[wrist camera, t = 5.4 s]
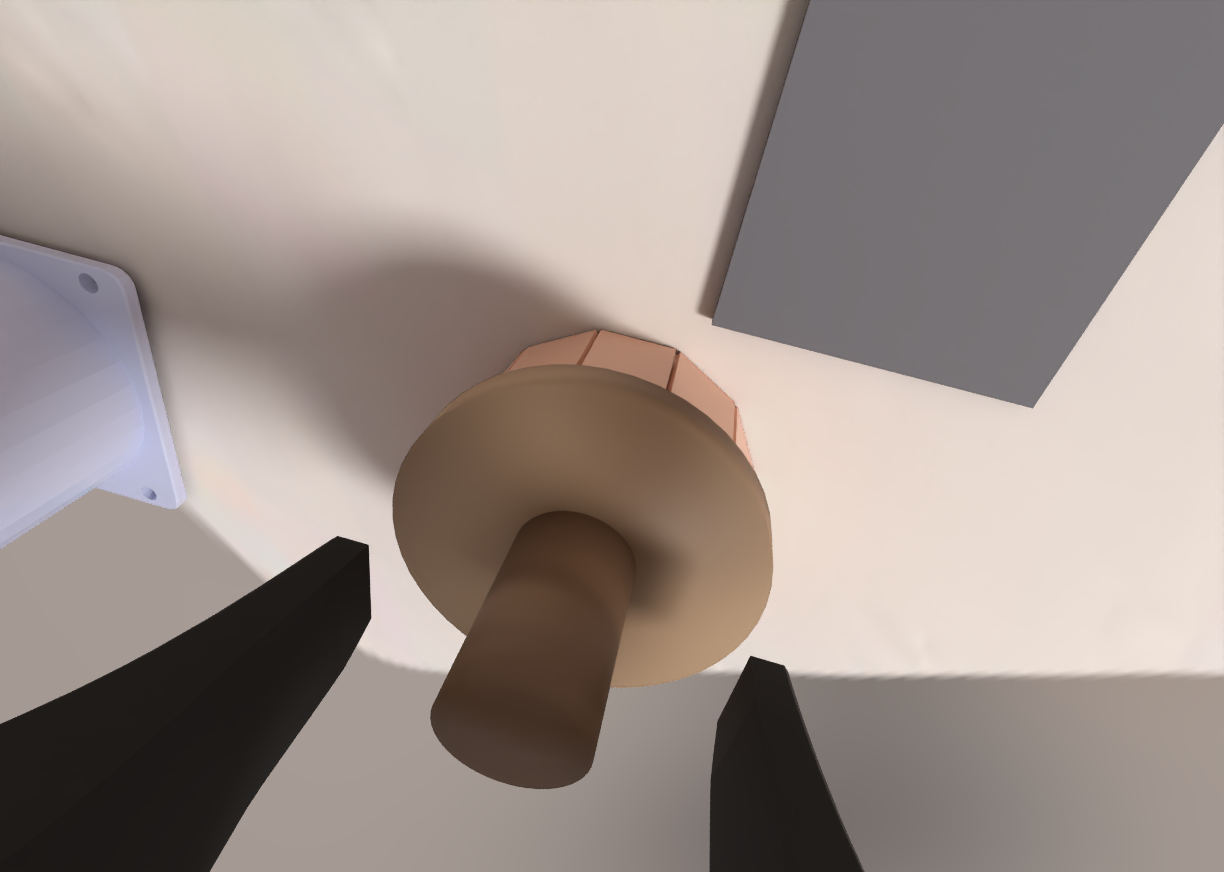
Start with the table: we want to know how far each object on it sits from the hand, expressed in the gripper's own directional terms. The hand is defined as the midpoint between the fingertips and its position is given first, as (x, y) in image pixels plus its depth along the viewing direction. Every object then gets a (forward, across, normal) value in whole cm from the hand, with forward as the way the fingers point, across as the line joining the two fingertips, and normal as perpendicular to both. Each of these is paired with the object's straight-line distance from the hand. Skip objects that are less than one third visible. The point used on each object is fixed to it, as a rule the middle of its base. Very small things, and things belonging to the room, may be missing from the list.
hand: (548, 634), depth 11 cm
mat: (+6, -5, -8) cm, 11 cm away
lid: (+3, 0, 0) cm, 3 cm away
